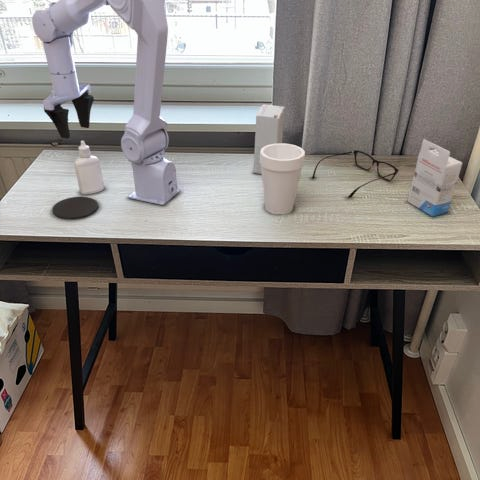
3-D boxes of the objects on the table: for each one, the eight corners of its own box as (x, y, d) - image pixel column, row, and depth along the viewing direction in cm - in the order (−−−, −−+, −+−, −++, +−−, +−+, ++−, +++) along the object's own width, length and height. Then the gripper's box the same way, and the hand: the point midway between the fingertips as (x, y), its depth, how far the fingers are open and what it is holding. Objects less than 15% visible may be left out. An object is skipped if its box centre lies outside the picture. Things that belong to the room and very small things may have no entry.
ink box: (449, 212, 112) (468, 148, 103) (432, 217, 110) (450, 152, 101) (423, 197, 118) (439, 134, 109) (406, 201, 116) (421, 138, 107)
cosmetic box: (259, 161, 134) (261, 103, 124) (281, 163, 133) (285, 105, 123) (253, 174, 127) (254, 114, 118) (276, 176, 126) (279, 116, 117)
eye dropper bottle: (102, 194, 118) (93, 144, 110) (78, 195, 118) (67, 145, 110) (105, 186, 122) (96, 137, 114) (82, 186, 121) (71, 137, 114)
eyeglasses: (399, 184, 123) (403, 169, 121) (353, 201, 116) (356, 185, 114) (352, 162, 133) (354, 147, 131) (307, 176, 127) (308, 160, 124)
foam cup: (271, 221, 109) (274, 163, 100) (251, 203, 115) (252, 148, 107) (307, 211, 112) (313, 155, 104) (286, 195, 118) (290, 140, 110)
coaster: (107, 203, 115) (106, 201, 115) (80, 223, 108) (79, 221, 108) (71, 195, 118) (71, 193, 118) (43, 214, 111) (42, 212, 111)
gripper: (68, 62, 118) (80, 120, 127) (26, 77, 108) (41, 139, 117) (93, 65, 116) (103, 124, 125) (52, 81, 106) (66, 144, 115)
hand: (75, 132), depth 121 cm, fingers open, 7 cm apart
